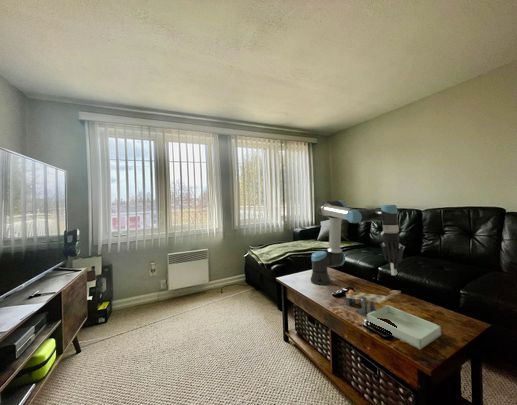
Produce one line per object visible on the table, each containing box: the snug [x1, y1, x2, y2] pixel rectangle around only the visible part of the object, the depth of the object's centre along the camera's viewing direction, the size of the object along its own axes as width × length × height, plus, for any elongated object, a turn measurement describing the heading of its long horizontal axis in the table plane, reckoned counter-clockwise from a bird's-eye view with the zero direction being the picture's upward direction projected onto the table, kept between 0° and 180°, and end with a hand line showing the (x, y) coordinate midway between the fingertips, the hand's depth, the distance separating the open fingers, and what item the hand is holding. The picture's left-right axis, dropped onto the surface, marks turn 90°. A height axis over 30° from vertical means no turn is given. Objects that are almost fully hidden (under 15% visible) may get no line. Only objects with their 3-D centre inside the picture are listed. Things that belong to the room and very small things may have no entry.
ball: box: [347, 289, 354, 295], centre depth 125 cm, size 3×3×3 cm
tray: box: [365, 304, 442, 350], centre depth 100 cm, size 24×18×4 cm
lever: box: [345, 289, 402, 304], centre depth 120 cm, size 22×18×3 cm
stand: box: [345, 293, 377, 318], centre depth 119 cm, size 18×10×9 cm, turn 27°
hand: (394, 274), depth 115 cm, fingers closed
